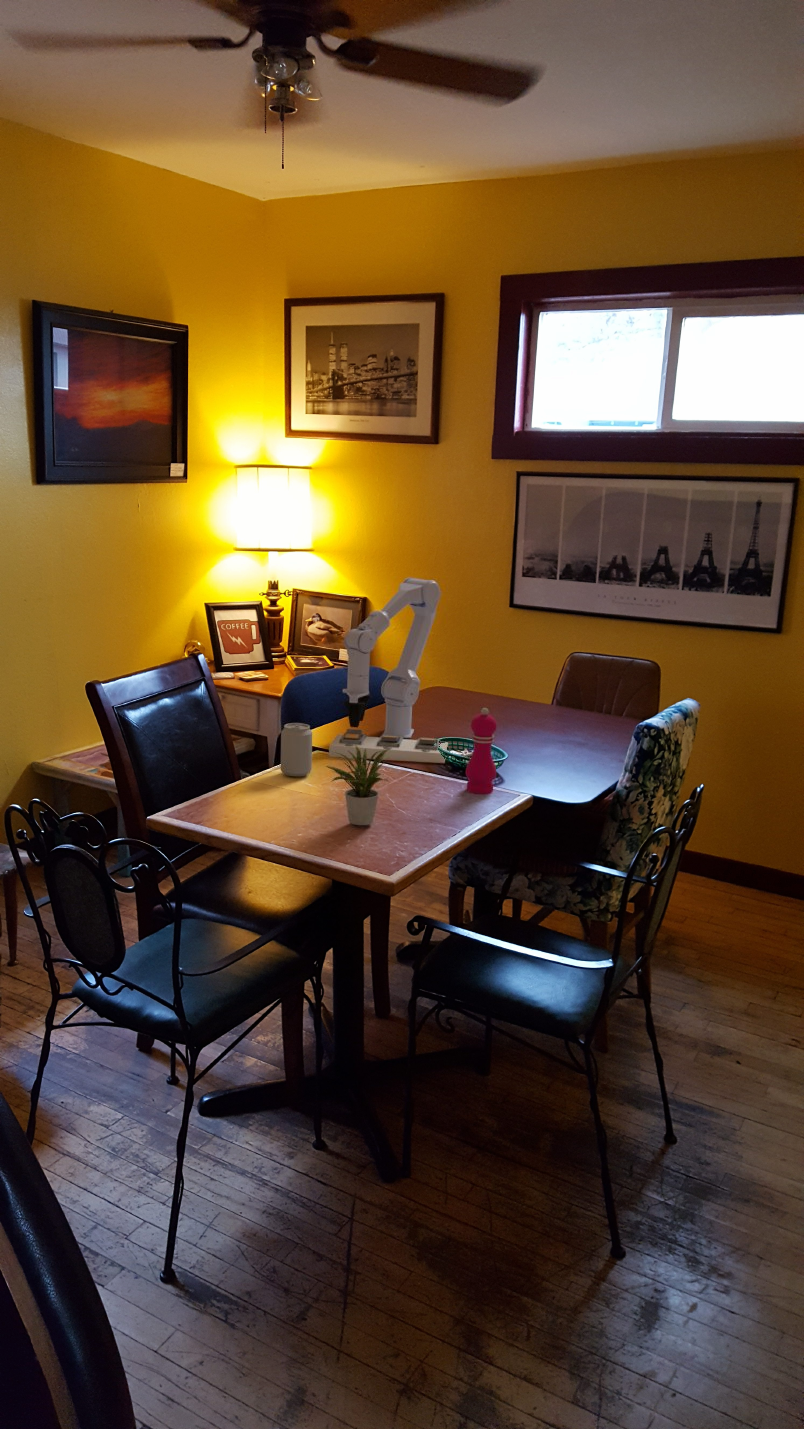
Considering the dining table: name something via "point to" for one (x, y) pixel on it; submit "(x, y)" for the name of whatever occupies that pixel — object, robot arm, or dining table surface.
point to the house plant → (361, 787)
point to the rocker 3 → (428, 740)
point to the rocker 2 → (389, 738)
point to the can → (296, 749)
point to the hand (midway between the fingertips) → (356, 723)
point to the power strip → (399, 751)
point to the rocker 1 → (353, 734)
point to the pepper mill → (482, 755)
